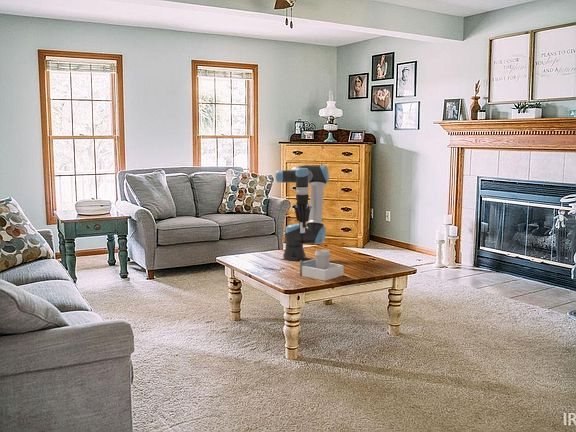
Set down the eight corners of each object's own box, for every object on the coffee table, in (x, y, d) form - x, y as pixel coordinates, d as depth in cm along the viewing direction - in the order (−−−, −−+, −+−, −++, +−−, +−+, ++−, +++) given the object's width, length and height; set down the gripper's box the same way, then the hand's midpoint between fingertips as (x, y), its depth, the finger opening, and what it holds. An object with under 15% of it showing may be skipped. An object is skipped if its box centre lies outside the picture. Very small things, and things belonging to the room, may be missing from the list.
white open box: (299, 275, 337) (299, 260, 335) (318, 270, 349) (318, 255, 348) (324, 280, 323) (324, 265, 322) (343, 275, 336) (343, 260, 335)
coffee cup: (313, 273, 340) (313, 249, 338) (329, 273, 341) (329, 248, 339) (315, 277, 331) (315, 252, 328) (332, 277, 331) (332, 252, 329)
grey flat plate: (303, 274, 337) (303, 262, 336) (301, 274, 338) (301, 262, 337) (317, 270, 346) (317, 258, 345) (316, 270, 347) (316, 258, 346)
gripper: (290, 193, 343) (290, 232, 346) (306, 195, 334) (306, 234, 337) (298, 192, 348) (298, 230, 352) (314, 194, 339) (314, 233, 343)
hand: (302, 232), depth 344 cm, fingers closed
